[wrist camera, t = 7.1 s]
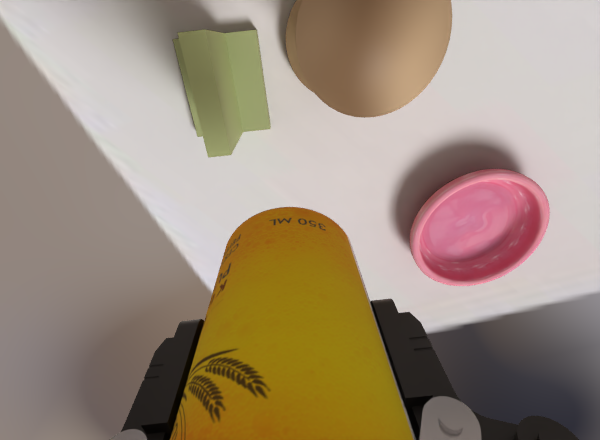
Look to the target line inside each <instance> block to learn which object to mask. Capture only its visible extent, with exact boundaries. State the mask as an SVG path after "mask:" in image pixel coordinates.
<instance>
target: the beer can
mask: <svg viewBox="0 0 600 440" xmlns="http://www.w3.org/2000/svg"><path fill="white" fill-rule="evenodd" d="M170 440H416V438H415V435H414V432H413V429H412V426H411V423H410V420H409V417H408V414H407V411H406V408H405V405H404V402H403V399H402V396H401V393H400V390H399V387H398V384H397V381H396V378H395V375H394V372H393V369H392V366H391V363H390V360H389V357H388V354H387V351H386V348H385V345H384V342H383V339H382V336H381V333H380V330H379V327H378V324H377V321H376V318H375V315H374V312H373V309H372V306H371V303H370V300H369V297H368V294H367V291H366V288H365V285H364V282H363V279H362V276H361V273H360V270H359V267H358V264H357V261H356V258H355V255H354V252H353V249H352V246H351V243H350V240H349V239H348V237H347V235H346V234H345V232H344V231H343V230H342V228H341V227H340V226H339V225H338V224H337V223H335V222H334V221H333V220H331V219H330V218H328V217H327V216H325V215H323V214H321V213H319V212H316V211H313V210H309V209H305V208H298V207H281V208H275V209H270V210H267V211H263V212H261V213H258V214H256V215H254V216H252V217H251V218H249V219H248V220H246V221H245V222H243V223H242V224H241V225H240V226H239V227H238V228H237V229H236V230H235V232H234V233H233V234H232V236H231V237H230V239H229V241H228V243H227V246H226V249H225V252H224V256H223V259H222V263H221V266H220V270H219V273H218V277H217V280H216V283H215V287H214V290H213V294H212V297H211V301H210V304H209V307H208V311H207V314H206V318H205V321H204V325H203V328H202V331H201V335H200V338H199V342H198V345H197V349H196V352H195V355H194V359H193V362H192V366H191V369H190V373H189V376H188V379H187V383H186V386H185V390H184V393H183V397H182V400H181V403H180V407H179V410H178V414H177V417H176V421H175V424H174V428H173V431H172V434H171V438H170Z"/></svg>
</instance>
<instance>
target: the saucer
mask: <svg viewBox="0 0 600 440" xmlns="http://www.w3.org/2000/svg"><path fill="white" fill-rule="evenodd" d="M549 213H550V212H549V203H548V200H547V197H546V195H545V193H544V192H543V190H542V189H541V187H540V186H539V185H538V184H537V183H536V182H534V181H533V180H532V179H530V178H528V177H526V176H525V175H523V174H520V173H518V172H515V171H511V170H506V169H485V170H480V171H475V172H472V173H469V174H465V175H463V176H461V177H458V178H456V179H454V180H453V181H451V182H449V183H447V184H446V185H444V186H443V187H441V188H440V189H439V190H438V191H436V192H435V193H434V194H433V195H432V196H431V197H430V198H429V199H428V200H427V201H426V202H425V204H424V205H423V206H422V207H421V209H420V210H419V212H418V214H417V215H416V217H415V220H414V222H413V225H412V228H411V232H410V249H411V253H412V256H413V258H414V260H415V262H416V264H417V266H418V267H419V268H420V270H421V271H422V272H423V273H424V274H425V275H427V276H428V277H429V278H431V279H433V280H435V281H437V282H440V283H443V284H447V285H453V286H470V285H477V284H482V283H486V282H489V281H492V280H495V279H497V278H499V277H502V276H503V275H506V274H507V273H509V272H511V271H512V270H514V269H515V268H517V267H518V266H519V265H520V264H522V263H523V262H524V261H525V260H526V259H527V258H528V257H529V256H530V255H531V254H532V253H533V252H534V250H535V249H536V248H537V247H538V245H539V244H540V242H541V240H542V238H543V237H544V235H545V232H546V229H547V226H548V223H549Z"/></svg>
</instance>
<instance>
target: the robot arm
mask: <svg viewBox="0 0 600 440" xmlns="http://www.w3.org/2000/svg"><path fill="white" fill-rule="evenodd" d="M370 303H371V306H372V309H373V312H374V315H375V318H376V321H377V324H378V327H379V330H380V333H381V336H382V339H383V342H384V345H385V348H386V351H387V354H388V357H389V360H390V363H391V366H392V369H393V372H394V375H395V378H396V381H397V384H398V387H399V390H400V393H401V396H402V399H403V402H404V405H405V408H406V411H407V414H408V417H409V420H410V423H411V426H412V429H413V432H414V435H415V438H416V440H579V439H578V438H577V437H576V436H575V435H574V434H573V433H572V432H570V431H569V430H568V429H567V428H566V427H564V426H562V425H561V424H559V423H558V422H556V421H553V420H551V419H549V418H545V417H541V416H529V417H526V418H524V419H523V420H521V422H520V423H519V425H516V424H512V423H507V422H503V421H498V420H494V419H490V418H486V417H484V416H481V415H479V414H477V413H475V412H473V411H472V410H471V409H469V408H468V407H467V406H466V405H465V404H463V403H462V402H461V400H460V399H459V398H458V397H457V395H456V393H455V392H454V390H453V388H452V386H451V383H450V382H449V379H448V377H447V375H446V374H445V371H444V369H443V367H442V365H441V363H440V361H439V359H438V357H437V355H436V353H435V351H434V350H433V347H432V345H431V343H430V341H429V339H428V338H427V334H426V332H425V330H424V328H423V326H422V324H421V322H419V321H418V320H417V319H416V318H415V317H414V316H413V315H412V314H411V313H410V312H405V313H398V311H397V309H396V306H395V304H394V302H393V300H392V299H383V300H374V301H371V302H370ZM203 325H204V320H202V319H199V320H191V321H182V322H180V323H179V325H178V328H177V331H176V333H175V336H174V338H166V339H165V340H164V342H163V343H162V344H161V345H160V346H159V348H158V349H157V350H156V351H155V353H154V356H153V358H152V360H151V363H150V365H149V369H148V370H147V372H146V375H145V377H144V378H145V379H144V381H143V382H142V384H141V387H140V389H139V391H138V394H137V396H136V399H135V401H134V403H133V405H132V408H131V410H130V413H129V415H128V417H127V420H126V422H125V424H124V427H123V429H122V431H121V432H120V433H118V434H117V435H115V436H114V437H112V438H111V439H110V440H170V438H171V434H172V431H173V428H174V424H175V421H176V417H177V414H178V410H179V407H180V403H181V400H182V397H183V393H184V390H185V386H186V383H187V379H188V376H189V373H190V369H191V366H192V362H193V359H194V355H195V352H196V349H197V345H198V342H199V338H200V335H201V331H202V328H203Z"/></svg>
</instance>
